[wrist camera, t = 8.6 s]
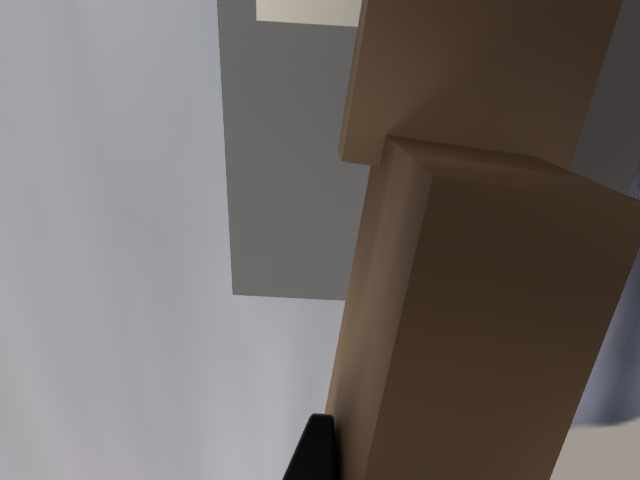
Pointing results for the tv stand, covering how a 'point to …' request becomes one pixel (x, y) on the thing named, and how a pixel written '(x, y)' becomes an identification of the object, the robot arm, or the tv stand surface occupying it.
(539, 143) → the brown wooden bar
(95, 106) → the tv stand surface
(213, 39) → the tv stand surface
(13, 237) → the tv stand surface
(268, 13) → the tile
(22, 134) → the tv stand surface
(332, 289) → the mat
